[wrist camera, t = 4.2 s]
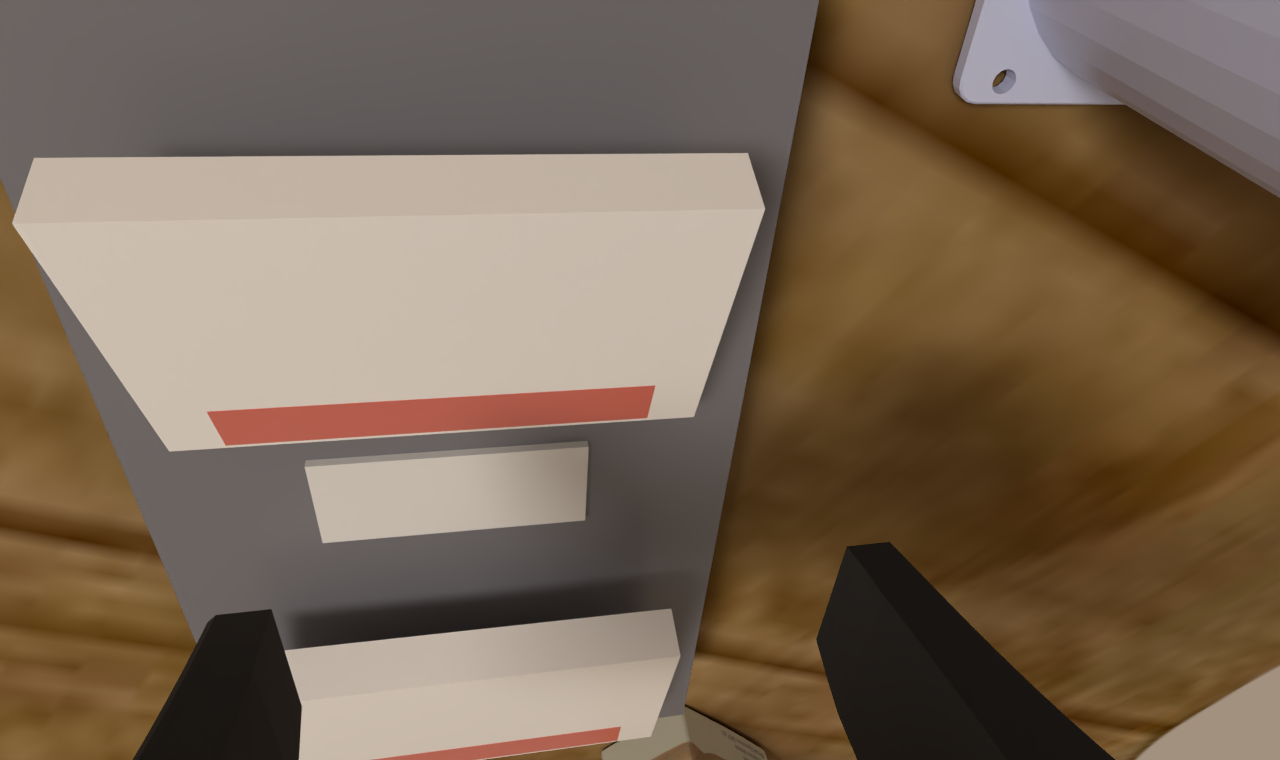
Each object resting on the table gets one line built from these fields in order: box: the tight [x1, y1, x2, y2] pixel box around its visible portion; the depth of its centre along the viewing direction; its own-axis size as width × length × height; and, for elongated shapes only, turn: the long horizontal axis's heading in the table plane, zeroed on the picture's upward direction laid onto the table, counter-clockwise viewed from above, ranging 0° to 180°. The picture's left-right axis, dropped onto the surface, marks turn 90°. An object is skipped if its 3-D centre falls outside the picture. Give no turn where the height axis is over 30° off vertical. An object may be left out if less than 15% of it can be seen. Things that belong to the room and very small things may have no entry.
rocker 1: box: [12, 153, 765, 452], centre depth 15 cm, size 10×6×1 cm, turn 86°
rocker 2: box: [284, 609, 681, 760], centre depth 22 cm, size 10×6×1 cm, turn 86°
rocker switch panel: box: [0, 0, 819, 718], centre depth 20 cm, size 13×22×3 cm, turn 176°
